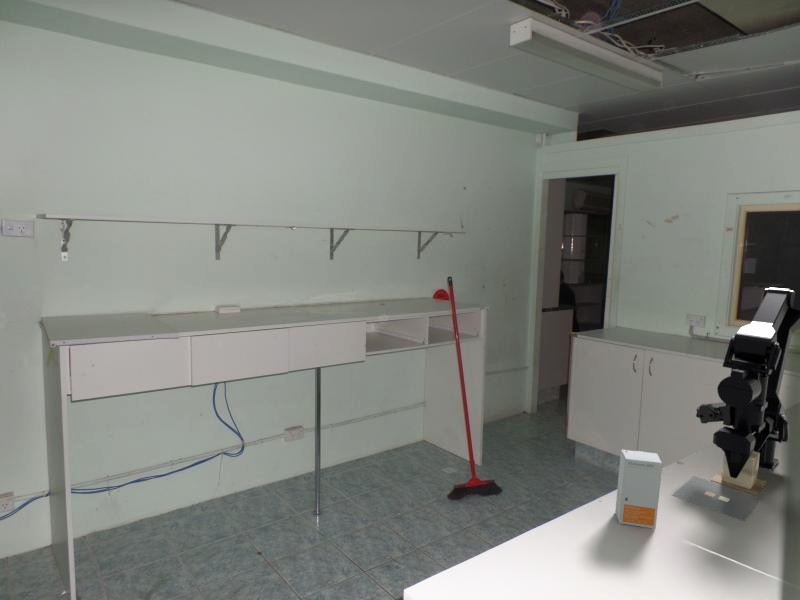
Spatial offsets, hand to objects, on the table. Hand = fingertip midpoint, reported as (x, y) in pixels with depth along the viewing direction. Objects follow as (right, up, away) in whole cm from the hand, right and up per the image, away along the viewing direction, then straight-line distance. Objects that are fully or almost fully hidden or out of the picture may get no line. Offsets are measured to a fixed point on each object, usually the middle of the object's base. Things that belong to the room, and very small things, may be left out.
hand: (740, 470), depth 107 cm
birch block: (0, -2, 0) cm, 2 cm away
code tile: (-8, -3, -6) cm, 11 cm away
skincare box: (-28, -4, -15) cm, 32 cm away
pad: (0, -3, 0) cm, 2 cm away
